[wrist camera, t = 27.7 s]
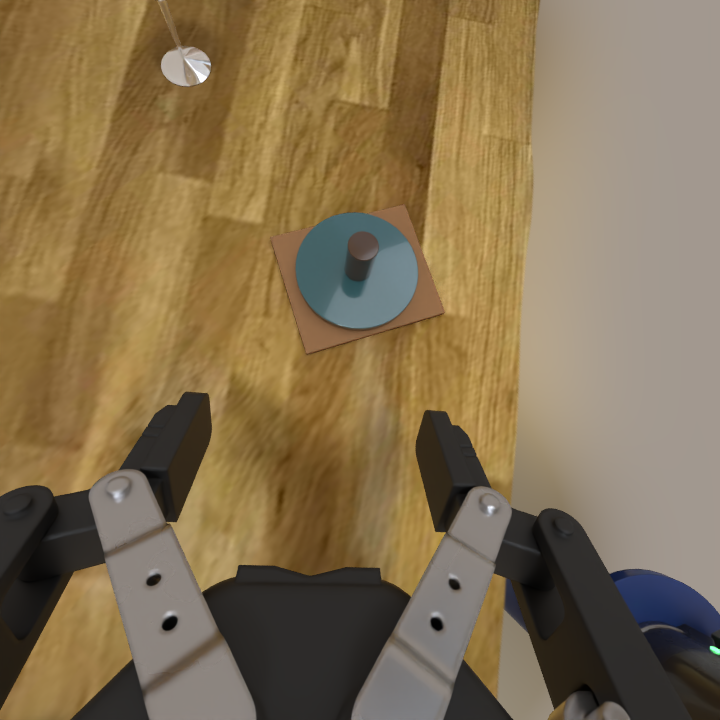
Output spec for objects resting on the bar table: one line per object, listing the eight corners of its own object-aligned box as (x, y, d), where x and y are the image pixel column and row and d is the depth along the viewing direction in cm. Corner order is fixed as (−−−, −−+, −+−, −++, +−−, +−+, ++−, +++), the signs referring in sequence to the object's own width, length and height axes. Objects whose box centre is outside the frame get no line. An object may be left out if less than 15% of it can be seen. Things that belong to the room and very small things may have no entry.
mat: (403, 206, 38) (404, 204, 38) (443, 313, 37) (445, 312, 36) (270, 239, 36) (270, 236, 36) (306, 354, 34) (306, 353, 34)
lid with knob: (393, 207, 38) (405, 169, 32) (431, 312, 36) (452, 291, 30) (281, 234, 36) (274, 198, 30) (316, 346, 34) (316, 331, 29)
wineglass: (233, 69, 39) (196, -86, 27) (183, 105, 38) (121, -41, 26) (188, 27, 39) (132, -143, 28) (137, 62, 38) (55, -102, 26)
